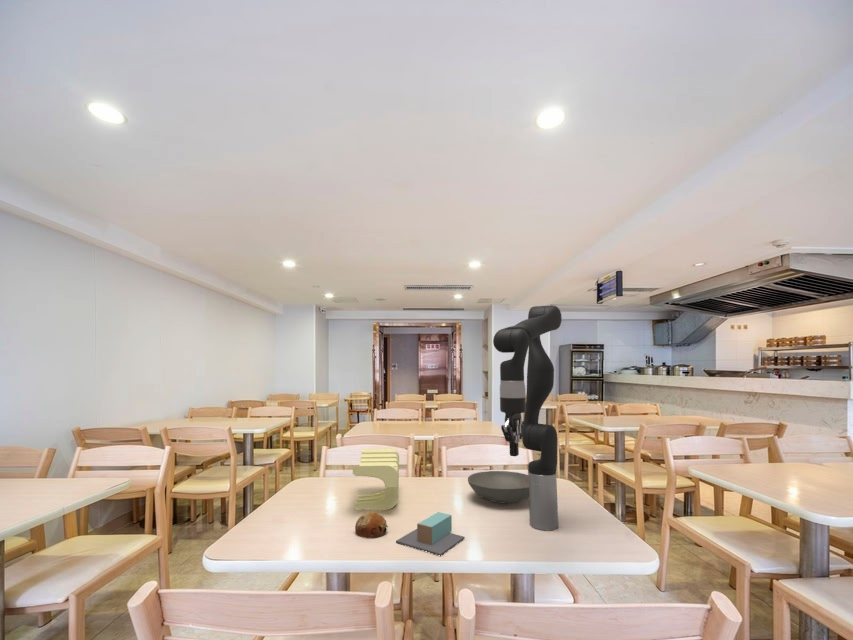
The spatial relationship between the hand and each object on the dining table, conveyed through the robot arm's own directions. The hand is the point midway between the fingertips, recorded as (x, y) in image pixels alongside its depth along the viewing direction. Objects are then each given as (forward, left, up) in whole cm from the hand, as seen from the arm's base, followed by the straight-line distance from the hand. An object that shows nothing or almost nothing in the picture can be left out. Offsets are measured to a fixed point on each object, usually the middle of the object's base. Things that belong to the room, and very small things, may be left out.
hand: (514, 455), depth 120 cm
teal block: (-1, -25, -24) cm, 35 cm away
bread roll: (+12, -44, -27) cm, 54 cm away
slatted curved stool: (-10, -61, -27) cm, 68 cm away
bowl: (-41, -22, -27) cm, 54 cm away
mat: (+7, -25, -27) cm, 37 cm away
